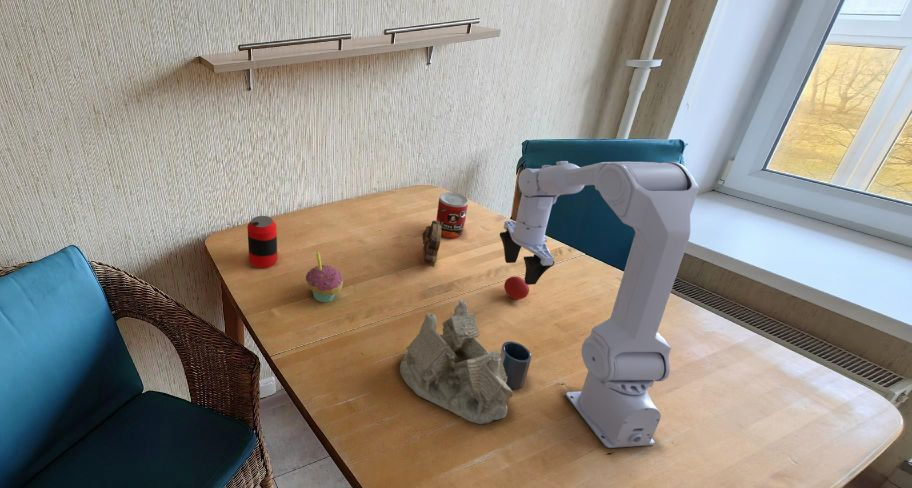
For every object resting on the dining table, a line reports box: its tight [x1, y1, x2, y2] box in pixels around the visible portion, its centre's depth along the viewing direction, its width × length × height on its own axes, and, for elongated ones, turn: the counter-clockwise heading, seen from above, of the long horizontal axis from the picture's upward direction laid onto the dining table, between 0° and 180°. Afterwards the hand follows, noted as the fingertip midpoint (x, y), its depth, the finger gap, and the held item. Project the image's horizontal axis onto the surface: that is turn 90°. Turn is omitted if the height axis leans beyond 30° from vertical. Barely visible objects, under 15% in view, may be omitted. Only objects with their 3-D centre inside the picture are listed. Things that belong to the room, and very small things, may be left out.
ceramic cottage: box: [399, 300, 514, 425], centre depth 75 cm, size 16×16×15 cm
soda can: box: [246, 215, 278, 269], centre depth 112 cm, size 8×8×12 cm
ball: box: [503, 275, 530, 300], centre depth 98 cm, size 5×5×5 cm
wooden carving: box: [421, 220, 442, 268], centre depth 112 cm, size 16×5×10 cm, turn 165°
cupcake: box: [305, 250, 344, 303], centre depth 99 cm, size 9×8×12 cm
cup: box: [499, 340, 532, 390], centre depth 78 cm, size 5×5×6 cm
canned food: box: [435, 191, 469, 239], centre depth 123 cm, size 8×8×11 cm
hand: (519, 272), depth 97 cm, fingers open, 7 cm apart
